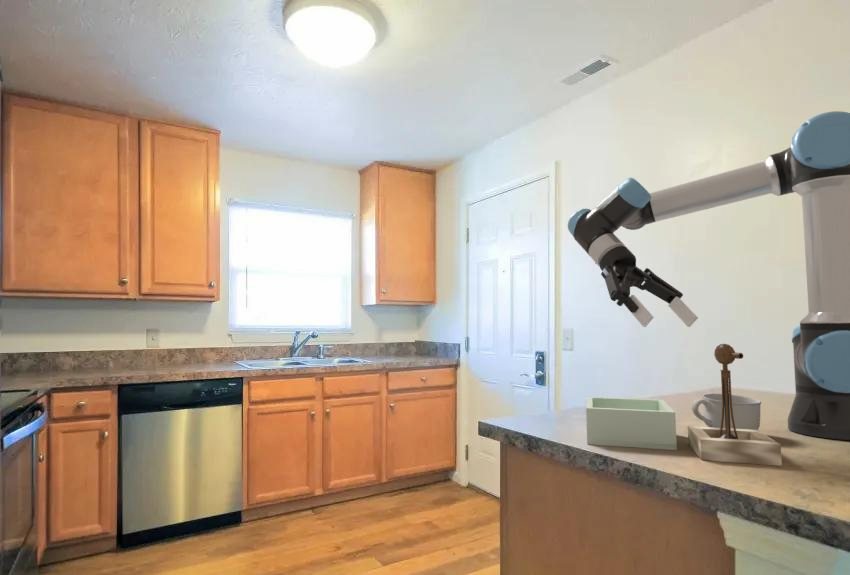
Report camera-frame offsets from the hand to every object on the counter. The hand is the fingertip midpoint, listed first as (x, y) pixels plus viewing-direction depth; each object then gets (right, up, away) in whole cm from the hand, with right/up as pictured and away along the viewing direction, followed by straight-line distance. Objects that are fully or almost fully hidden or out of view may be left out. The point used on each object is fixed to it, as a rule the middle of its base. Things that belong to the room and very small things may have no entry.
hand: (671, 322), depth 103 cm
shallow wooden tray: (+5, -23, -11) cm, 26 cm away
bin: (-8, -24, +1) cm, 26 cm away
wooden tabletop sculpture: (+5, -23, -11) cm, 27 cm away
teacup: (+14, -25, +5) cm, 29 cm away
